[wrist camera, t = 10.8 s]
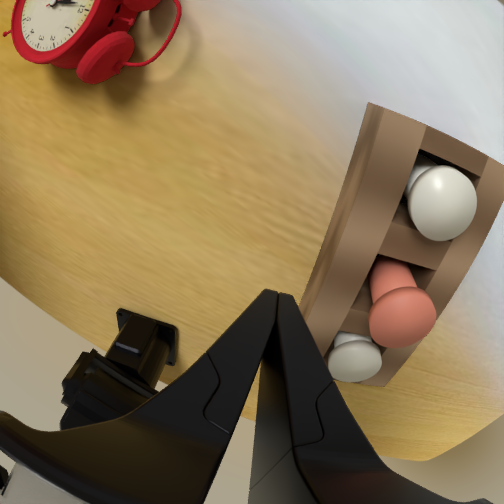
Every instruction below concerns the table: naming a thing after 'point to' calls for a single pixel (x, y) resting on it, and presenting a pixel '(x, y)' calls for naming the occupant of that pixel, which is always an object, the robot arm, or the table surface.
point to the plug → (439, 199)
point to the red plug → (397, 305)
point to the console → (392, 231)
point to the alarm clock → (81, 34)
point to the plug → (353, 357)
